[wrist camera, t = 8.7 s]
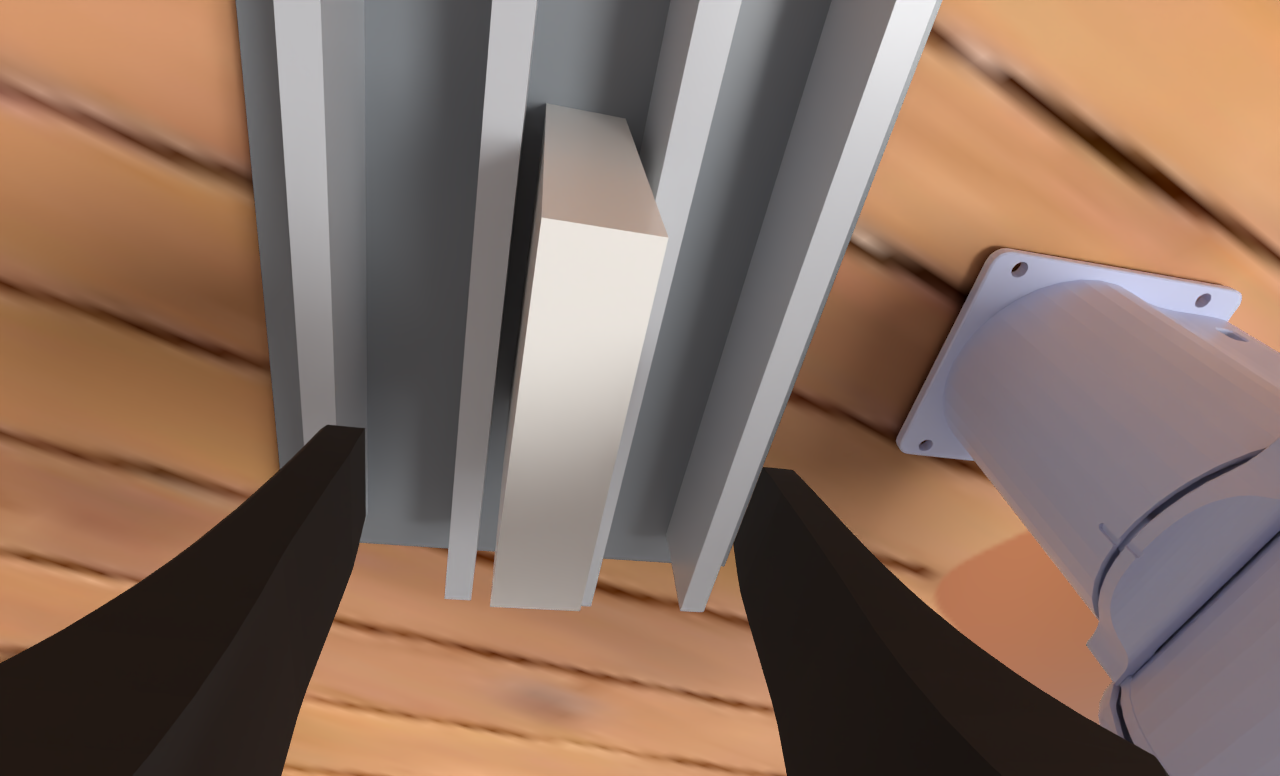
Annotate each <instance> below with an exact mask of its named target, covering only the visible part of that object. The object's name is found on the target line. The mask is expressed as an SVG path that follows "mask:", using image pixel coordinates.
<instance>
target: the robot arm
mask: <svg viewBox="0 0 1280 776" xmlns="http://www.w3.org/2000/svg"><path fill="white" fill-rule="evenodd" d="M1019 262H1021V265H1020V267H1019V268H1018V269H1017V270H1016V271H1014V272H1012V268H1013V267H1014V266H1015V265H1016V264H1018V263H1019ZM1199 296H1200V297H1199ZM1241 299H1242V295H1241V293H1240V292H1238V291H1237V290H1235V289H1233V288H1231V287H1228V286H1222V285H1216V284H1211V283H1205V282H1199V281H1194V280H1188V279H1182V278H1176V277H1171V276H1165V275H1159V274H1153V273H1148V272H1142V271H1136V270H1130V269H1125V268H1119V267H1113V266H1107V265H1102V264H1096V263H1090V262H1084V261H1079V260H1073V259H1067V258H1061V257H1056V256H1050V255H1044V254H1038V253H1033V252H1027V251H1021V250H1015V249H1010V248H1001V249H999V250H996V251H994V252H993V253H992V254H991V255H990V256H989V257H988V258H987V260H986V261H985V263H984V265H983V267H982V269H981V271H980V273H979V275H978V277H977V279H976V281H975V283H974V285H973V287H972V289H971V291H970V293H969V295H968V297H967V299H966V301H965V303H964V305H963V307H962V309H961V311H960V313H959V315H958V317H957V319H956V321H955V323H954V325H953V327H952V329H951V331H950V333H949V335H948V337H947V339H946V341H945V343H944V345H943V347H942V349H941V351H940V353H939V355H938V357H937V359H936V361H935V363H934V365H933V367H932V369H931V371H930V373H929V375H928V377H927V379H926V381H925V382H924V384H923V386H922V388H921V390H920V392H919V394H918V396H917V398H916V400H915V402H914V404H913V406H912V408H911V410H910V412H909V414H908V416H907V418H906V420H905V422H904V424H903V426H902V428H901V430H900V432H899V434H898V436H897V439H896V443H897V446H898V447H899V449H900V450H901V451H902V452H903V453H906V454H914V455H923V456H933V457H942V458H952V459H961V460H971V461H975V462H976V463H977V465H978V466H979V467H980V469H981V470H982V471H983V472H984V474H985V475H986V476H987V478H988V479H989V480H990V481H991V483H992V484H993V485H994V487H995V488H996V489H997V490H998V492H999V493H1000V494H1001V496H1002V497H1003V498H1004V499H1005V501H1006V502H1007V503H1008V505H1009V506H1010V507H1011V508H1012V510H1013V511H1014V512H1015V514H1016V515H1017V516H1018V517H1019V519H1020V520H1021V521H1022V523H1023V524H1024V525H1025V526H1026V528H1027V529H1028V530H1029V532H1030V533H1031V534H1032V535H1033V536H1034V538H1035V539H1036V541H1037V542H1038V543H1039V544H1040V545H1041V547H1042V548H1043V549H1044V551H1045V552H1046V553H1047V555H1048V556H1049V557H1050V559H1051V560H1052V561H1053V562H1054V564H1055V565H1056V566H1057V568H1058V569H1059V570H1060V571H1061V573H1062V574H1063V575H1064V577H1065V578H1066V579H1067V580H1068V582H1069V583H1070V584H1071V586H1072V587H1073V588H1074V589H1075V591H1076V592H1077V593H1078V595H1079V596H1080V597H1081V598H1082V600H1083V601H1084V602H1085V604H1086V605H1087V606H1088V607H1089V609H1090V610H1091V611H1092V612H1093V614H1094V615H1095V616H1096V618H1097V619H1098V620H1099V623H1098V627H1097V629H1096V630H1095V632H1094V634H1093V636H1091V638H1090V639H1089V640H1088V641H1087V644H1086V646H1087V647H1088V648H1089V650H1090V651H1091V652H1092V654H1093V655H1094V656H1095V658H1096V659H1097V660H1098V662H1099V663H1100V665H1101V666H1102V667H1103V669H1104V670H1105V671H1106V673H1107V674H1108V676H1109V677H1110V678H1111V680H1112V681H1113V682H1112V683H1111V684H1110V685H1109V686H1108V687H1107V688H1106V689H1105V691H1104V693H1103V696H1102V698H1101V700H1100V704H1099V715H1098V716H1099V723H1100V725H1098V724H1097V723H1095V722H1093V721H1091V720H1089V719H1087V718H1086V717H1084V716H1082V715H1081V714H1079V713H1077V712H1076V711H1074V710H1073V709H1071V708H1069V707H1068V706H1066V705H1065V704H1063V703H1061V702H1060V701H1058V700H1057V699H1055V698H1053V697H1052V696H1050V695H1049V694H1047V693H1045V692H1043V691H1042V690H1040V689H1039V688H1037V687H1036V686H1034V685H1033V684H1031V683H1030V682H1028V681H1027V680H1025V679H1024V678H1022V677H1021V676H1019V675H1018V674H1016V673H1015V672H1013V671H1012V670H1011V669H1009V668H1008V667H1006V666H1005V665H1004V664H1002V663H1001V662H1000V661H998V660H997V659H995V658H994V657H993V656H991V655H990V654H988V653H987V652H986V651H984V650H983V649H981V648H980V647H979V646H977V645H976V644H975V643H973V642H972V641H971V640H969V639H968V638H967V637H966V636H964V635H963V634H962V633H960V632H959V631H958V630H957V629H955V628H954V627H953V626H952V625H951V624H949V623H948V622H947V621H946V620H944V619H943V618H942V617H941V616H940V615H938V614H937V613H936V612H935V611H934V610H932V609H931V608H930V607H929V606H927V605H926V604H925V603H924V602H923V601H922V600H921V599H920V598H918V597H917V596H916V595H915V594H914V593H913V592H912V591H911V590H909V589H908V588H907V587H906V586H905V585H904V584H903V583H902V582H901V581H900V580H899V579H898V578H897V577H896V576H895V575H894V574H893V573H891V572H890V571H889V570H888V569H887V568H886V567H885V566H884V565H883V564H882V563H881V562H880V561H879V560H878V559H877V558H876V557H875V556H874V555H873V554H872V553H871V552H870V551H869V550H868V549H867V548H866V547H865V546H864V545H863V544H862V543H861V542H860V541H859V540H858V539H857V537H856V536H855V535H854V534H853V533H852V532H851V531H850V530H849V529H848V528H847V527H846V526H845V525H844V524H843V523H842V522H841V521H840V519H839V518H838V517H837V516H836V515H835V514H834V513H833V512H832V511H831V510H830V509H829V508H828V506H827V505H826V504H825V503H824V502H823V501H822V500H821V499H820V498H819V497H818V496H817V495H816V493H815V492H814V491H813V490H812V489H811V488H810V487H809V486H808V485H807V484H806V483H805V482H804V481H803V480H802V479H801V478H800V477H799V476H798V475H797V474H796V473H795V472H794V471H793V470H787V469H777V468H767V467H763V468H762V470H761V473H760V476H759V478H758V481H757V483H756V486H755V489H754V491H753V494H752V496H751V499H750V502H749V504H748V507H747V509H746V512H745V515H744V517H743V520H742V522H741V525H740V528H739V530H738V533H737V535H736V538H735V541H734V543H733V545H734V552H735V560H736V567H737V574H738V580H739V586H740V592H741V596H742V600H743V604H744V607H745V611H746V614H747V618H748V621H749V625H750V628H751V632H752V635H753V639H754V642H755V646H756V649H757V652H758V656H759V659H760V663H761V666H762V669H763V673H764V676H765V680H766V683H767V687H768V690H769V693H770V697H771V700H772V704H773V708H774V712H775V716H776V720H777V724H778V729H779V735H780V740H781V746H782V751H783V756H784V762H785V767H786V773H787V776H1280V353H1279V352H1277V351H1276V350H1274V349H1272V348H1270V347H1269V346H1267V345H1265V344H1264V343H1262V342H1260V341H1259V340H1257V339H1255V338H1254V337H1252V336H1250V335H1249V334H1247V333H1245V332H1244V331H1242V330H1240V329H1239V328H1237V327H1235V326H1234V325H1232V324H1230V323H1229V322H1227V321H1228V320H1229V319H1230V317H1231V316H1232V315H1233V313H1234V312H1235V311H1236V309H1237V308H1238V307H1239V305H1240V303H1241ZM924 440H927V441H926V442H924V443H923V444H920V443H921V442H922V441H924ZM365 518H366V479H365V428H358V427H348V426H337V425H326V426H324V427H323V428H321V429H320V430H319V431H318V432H317V433H316V434H315V435H314V436H313V437H312V438H311V439H310V440H309V441H308V442H307V443H306V444H305V445H304V446H303V447H302V448H301V449H300V450H299V451H298V452H297V453H296V454H295V455H294V456H293V457H292V458H291V459H290V460H289V461H288V462H287V463H286V464H285V465H284V466H283V467H282V468H281V469H280V470H279V471H278V472H277V473H276V474H275V475H274V476H273V477H271V478H270V479H269V480H268V481H267V482H266V483H265V484H264V485H263V486H261V487H260V488H259V489H258V490H257V491H256V492H255V493H254V494H253V495H251V496H250V497H249V498H248V499H247V500H246V501H245V502H244V503H243V504H241V505H240V506H239V507H238V508H237V509H236V510H234V511H233V512H232V513H231V514H229V515H228V516H227V517H226V518H225V519H223V520H222V521H221V522H220V523H218V524H217V525H216V526H215V527H213V528H212V529H211V530H210V531H209V532H207V533H206V534H205V535H204V536H202V537H201V538H200V539H199V540H197V541H196V542H195V543H193V544H192V545H191V546H190V547H188V548H187V549H186V550H184V551H183V552H182V553H180V554H179V555H178V556H176V557H175V558H173V559H172V560H171V561H169V562H168V563H166V564H165V565H164V566H162V567H161V568H159V569H158V570H156V571H155V572H154V573H152V574H151V575H149V576H148V577H146V578H145V579H143V580H142V581H141V582H139V583H138V584H136V585H135V586H133V587H132V588H130V589H128V590H127V591H125V592H124V593H122V594H120V595H119V596H117V597H116V598H114V599H113V600H111V601H109V602H108V603H106V604H105V605H103V606H101V607H100V608H98V609H96V610H95V611H93V612H91V613H90V614H88V615H86V616H85V617H83V618H82V619H80V620H78V621H77V622H75V623H73V624H72V625H70V626H68V627H67V628H65V629H63V630H61V631H60V632H58V633H56V634H54V635H53V636H51V637H49V638H47V639H45V640H43V641H41V642H40V643H38V644H36V645H34V646H32V647H30V648H29V649H27V650H25V651H23V652H21V653H19V654H17V655H15V656H14V657H12V658H10V659H8V660H6V661H4V662H2V663H0V776H281V775H282V771H283V767H284V764H285V760H286V757H287V753H288V749H289V746H290V742H291V738H292V735H293V731H294V728H295V724H296V720H297V717H298V714H299V711H300V708H301V705H302V702H303V699H304V696H305V693H306V690H307V687H308V684H309V682H310V679H311V677H312V674H313V671H314V669H315V666H316V664H317V661H318V659H319V656H320V653H321V651H322V648H323V646H324V643H325V640H326V638H327V635H328V633H329V630H330V627H331V625H332V622H333V620H334V617H335V615H336V612H337V609H338V607H339V604H340V601H341V599H342V596H343V594H344V591H345V588H346V586H347V583H348V580H349V578H350V575H351V572H352V570H353V566H354V562H355V558H356V554H357V550H358V546H359V542H360V538H361V534H362V530H363V526H364V522H365Z"/></svg>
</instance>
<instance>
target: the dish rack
mask: <svg viewBox="0 0 1280 776" xmlns="http://www.w3.org/2000/svg"><path fill="white" fill-rule="evenodd" d="M941 2H942V0H236V9H237V19H238V30H239V41H240V51H241V62H242V72H243V83H244V94H245V104H246V115H247V125H248V136H249V146H250V157H251V168H252V178H253V189H254V199H255V210H256V221H257V231H258V242H259V252H260V263H261V274H262V284H263V295H264V305H265V316H266V327H267V337H268V348H269V358H270V369H271V380H272V390H273V401H274V411H275V422H276V432H277V443H278V454H279V464H280V469H281V468H282V467H283V466H284V465H285V464H286V463H287V462H288V461H289V460H290V459H291V458H292V457H293V456H294V455H295V454H296V453H297V452H298V451H299V450H300V449H301V448H302V447H303V446H304V445H305V444H306V443H307V442H308V441H309V440H310V439H311V438H312V437H313V436H314V435H315V434H316V433H317V432H318V431H319V430H320V429H321V428H323V427H324V426H326V425H337V426H348V427H358V428H365V479H366V518H365V522H364V526H363V530H362V534H361V538H360V542H359V543H374V544H389V545H404V546H420V547H435V548H449V549H448V562H447V574H446V587H445V599H457V600H471V595H472V587H473V579H474V571H475V562H476V554H477V550H481V551H495V547H496V537H497V526H498V515H499V505H500V494H501V483H502V472H503V462H504V451H505V440H506V429H507V419H508V408H509V398H510V390H511V382H512V374H513V366H514V358H515V350H516V342H517V334H518V326H519V318H520V310H521V302H522V294H523V286H524V278H525V270H526V262H527V254H528V246H529V238H530V230H531V222H532V214H533V206H534V198H535V190H536V182H537V174H538V166H539V158H540V150H541V142H542V134H543V126H544V118H545V110H546V103H547V104H553V105H558V106H563V107H568V108H573V109H579V110H584V111H589V112H594V113H600V114H605V115H610V116H615V117H620V118H626V121H627V124H628V127H629V130H630V132H631V135H632V138H633V141H634V143H635V146H636V149H637V152H638V154H639V157H640V160H641V163H642V166H643V168H644V171H645V174H646V177H647V179H648V182H649V185H650V188H651V190H652V193H653V196H654V199H655V202H656V204H657V207H658V210H659V213H660V215H661V218H662V221H663V224H664V226H665V229H666V232H667V235H668V242H667V246H666V251H665V255H664V259H663V263H662V267H661V272H660V276H659V280H658V284H657V288H656V293H655V297H654V301H653V305H652V310H651V314H650V318H649V322H648V326H647V331H646V335H645V339H644V343H643V347H642V352H641V356H640V360H639V364H638V369H637V373H636V377H635V381H634V385H633V390H632V394H631V398H630V402H629V406H628V411H627V415H626V419H625V423H624V427H623V432H622V436H621V440H620V444H619V449H618V453H617V457H616V461H615V465H614V470H613V474H612V478H611V482H610V486H609V491H608V495H607V499H606V503H605V507H604V512H603V516H602V520H601V524H600V529H599V533H598V537H597V541H596V545H595V550H594V554H593V558H592V562H591V566H590V571H589V575H588V579H587V583H586V587H585V592H584V596H583V600H582V604H581V606H591V604H592V600H593V596H594V592H595V588H596V584H597V580H598V576H599V572H600V568H601V564H602V560H603V559H619V560H634V561H649V562H664V563H672V569H673V574H674V580H675V585H676V591H677V596H678V601H679V607H680V611H690V612H704V609H705V606H706V604H707V601H708V599H709V596H710V593H711V591H712V588H713V585H714V583H715V580H716V578H717V575H718V572H719V570H720V567H721V566H725V563H726V561H727V558H728V555H729V553H730V550H731V548H732V545H733V542H734V540H735V537H736V535H737V532H738V529H739V527H740V524H741V522H742V519H743V516H744V514H745V511H746V509H747V506H748V504H749V501H750V498H751V496H752V493H753V491H754V488H755V485H756V483H757V480H758V478H759V475H760V472H761V470H762V467H763V465H764V462H765V459H766V457H767V454H768V452H769V449H770V446H771V444H772V441H773V439H774V436H775V433H776V431H777V428H778V426H779V423H780V420H781V418H782V415H783V413H784V410H785V407H786V405H787V402H788V400H789V397H790V394H791V392H792V389H793V387H794V384H795V381H796V379H797V376H798V374H799V371H800V368H801V366H802V363H803V361H804V358H805V355H806V353H807V350H808V348H809V345H810V343H811V340H812V337H813V335H814V332H815V330H816V327H817V324H818V322H819V319H820V317H821V314H822V311H823V309H824V306H825V304H826V301H827V298H828V296H829V293H830V291H831V288H832V285H833V283H834V280H835V278H836V275H837V272H838V270H839V267H840V265H841V262H842V259H843V257H844V254H845V252H846V249H847V246H848V244H849V241H850V239H851V236H852V233H853V231H854V228H855V226H856V223H857V220H858V218H859V215H860V213H861V210H862V207H863V205H864V202H865V200H866V197H867V194H868V192H869V189H870V187H871V184H872V181H873V179H874V176H875V174H876V171H877V169H878V166H879V163H880V161H881V158H882V156H883V153H884V150H885V148H886V145H887V143H888V140H889V137H890V135H891V132H892V130H893V127H894V124H895V122H896V119H897V117H898V114H899V111H900V109H901V106H902V104H903V101H904V98H905V96H906V93H907V91H908V88H909V85H910V83H911V80H912V78H913V75H914V72H915V70H916V67H917V65H918V62H919V59H920V57H921V54H922V52H923V49H924V46H925V44H926V41H927V39H928V36H929V33H930V31H931V28H932V26H933V23H934V20H935V18H936V15H937V13H938V10H939V8H940V5H941Z"/></svg>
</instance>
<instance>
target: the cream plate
mask: <svg viewBox="0 0 1280 776" xmlns="http://www.w3.org/2000/svg"><path fill="white" fill-rule="evenodd" d="M667 242H668V235H667V232H666V229H665V226H664V224H663V221H662V218H661V215H660V213H659V210H658V207H657V204H656V202H655V199H654V196H653V193H652V190H651V188H650V185H649V182H648V179H647V177H646V174H645V171H644V168H643V166H642V163H641V160H640V157H639V154H638V152H637V149H636V146H635V143H634V141H633V138H632V135H631V132H630V130H629V127H628V124H627V121H626V118H620V117H615V116H610V115H605V114H600V113H594V112H589V111H584V110H579V109H573V108H568V107H563V106H558V105H553V104H547V103H546V110H545V118H544V126H543V134H542V142H541V150H540V158H539V166H538V174H537V182H536V190H535V198H534V206H533V214H532V222H531V230H530V238H529V246H528V254H527V262H526V270H525V278H524V286H523V294H522V302H521V310H520V318H519V326H518V334H517V342H516V350H515V358H514V366H513V374H512V382H511V390H510V398H509V408H508V419H507V429H506V440H505V451H504V462H503V472H502V483H501V494H500V505H499V515H498V526H497V537H496V547H495V558H494V569H493V580H492V590H491V601H490V607H505V608H526V609H546V610H566V611H580V609H581V604H582V600H583V596H584V592H585V587H586V583H587V579H588V575H589V571H590V566H591V562H592V558H593V554H594V550H595V545H596V541H597V537H598V533H599V529H600V524H601V520H602V516H603V512H604V507H605V503H606V499H607V495H608V491H609V486H610V482H611V478H612V474H613V470H614V465H615V461H616V457H617V453H618V449H619V444H620V440H621V436H622V432H623V427H624V423H625V419H626V415H627V411H628V406H629V402H630V398H631V394H632V390H633V385H634V381H635V377H636V373H637V369H638V364H639V360H640V356H641V352H642V347H643V343H644V339H645V335H646V331H647V326H648V322H649V318H650V314H651V310H652V305H653V301H654V297H655V293H656V288H657V284H658V280H659V276H660V272H661V267H662V263H663V259H664V255H665V251H666V246H667Z"/></svg>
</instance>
